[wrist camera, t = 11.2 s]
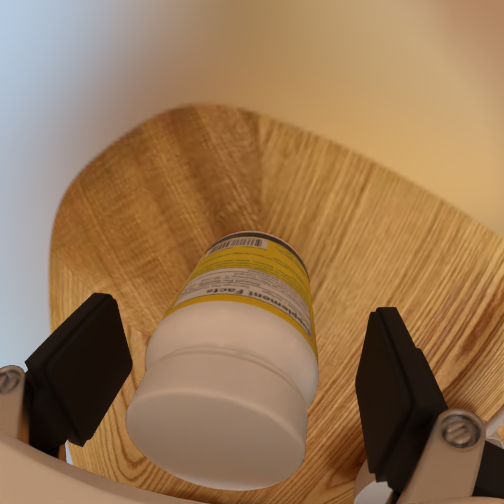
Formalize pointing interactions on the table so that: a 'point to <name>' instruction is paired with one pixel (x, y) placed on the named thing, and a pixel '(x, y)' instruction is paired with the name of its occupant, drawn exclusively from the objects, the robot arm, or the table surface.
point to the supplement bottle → (231, 369)
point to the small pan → (375, 494)
